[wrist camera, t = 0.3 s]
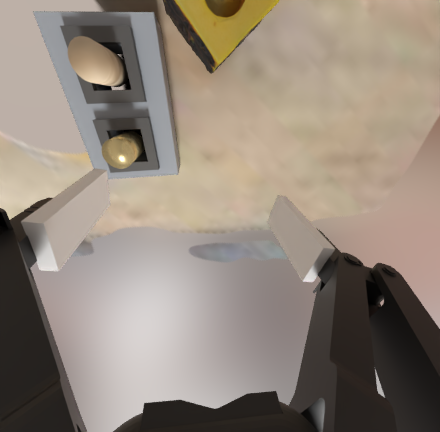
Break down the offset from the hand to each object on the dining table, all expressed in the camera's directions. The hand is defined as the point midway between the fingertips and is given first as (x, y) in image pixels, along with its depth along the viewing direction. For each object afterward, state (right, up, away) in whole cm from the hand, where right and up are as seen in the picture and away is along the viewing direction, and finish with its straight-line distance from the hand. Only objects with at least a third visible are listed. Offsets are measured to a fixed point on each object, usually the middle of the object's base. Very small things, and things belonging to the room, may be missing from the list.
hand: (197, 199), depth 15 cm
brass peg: (-13, +11, +17) cm, 24 cm away
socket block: (-14, +18, +19) cm, 29 cm away
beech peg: (-13, +19, +12) cm, 26 cm away
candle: (+1, +29, +14) cm, 32 cm away
